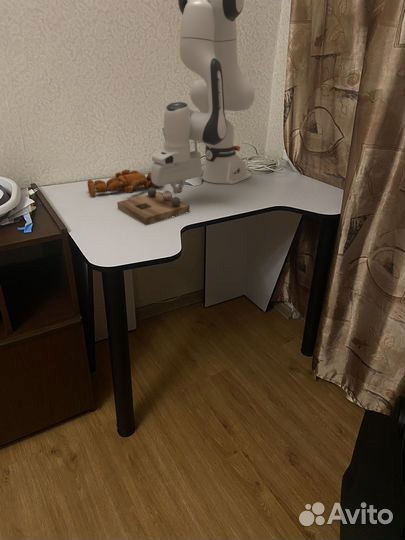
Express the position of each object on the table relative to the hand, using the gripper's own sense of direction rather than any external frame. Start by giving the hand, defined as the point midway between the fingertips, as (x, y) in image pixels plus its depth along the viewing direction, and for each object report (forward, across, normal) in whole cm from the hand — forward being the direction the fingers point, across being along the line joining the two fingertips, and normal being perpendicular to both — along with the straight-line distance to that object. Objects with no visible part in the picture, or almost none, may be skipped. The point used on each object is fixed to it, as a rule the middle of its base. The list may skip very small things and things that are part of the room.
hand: (177, 192), depth 143 cm
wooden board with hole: (+4, +11, 0) cm, 12 cm away
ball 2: (0, +6, +6) cm, 9 cm away
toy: (+5, +6, -24) cm, 25 cm away
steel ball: (0, +5, 0) cm, 5 cm away
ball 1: (0, +7, -7) cm, 9 cm away
